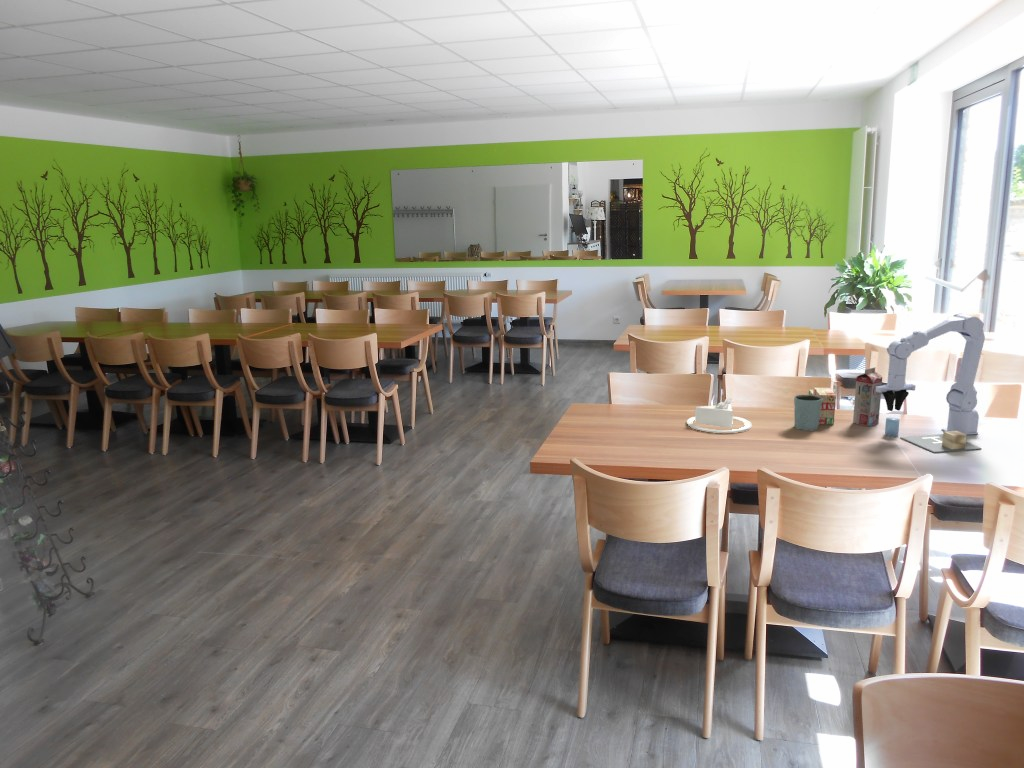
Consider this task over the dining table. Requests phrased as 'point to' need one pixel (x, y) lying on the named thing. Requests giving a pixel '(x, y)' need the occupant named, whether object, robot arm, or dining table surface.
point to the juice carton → (867, 398)
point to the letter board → (935, 443)
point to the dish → (717, 418)
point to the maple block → (954, 440)
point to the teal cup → (807, 411)
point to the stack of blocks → (825, 404)
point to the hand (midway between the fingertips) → (893, 410)
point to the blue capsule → (892, 426)
